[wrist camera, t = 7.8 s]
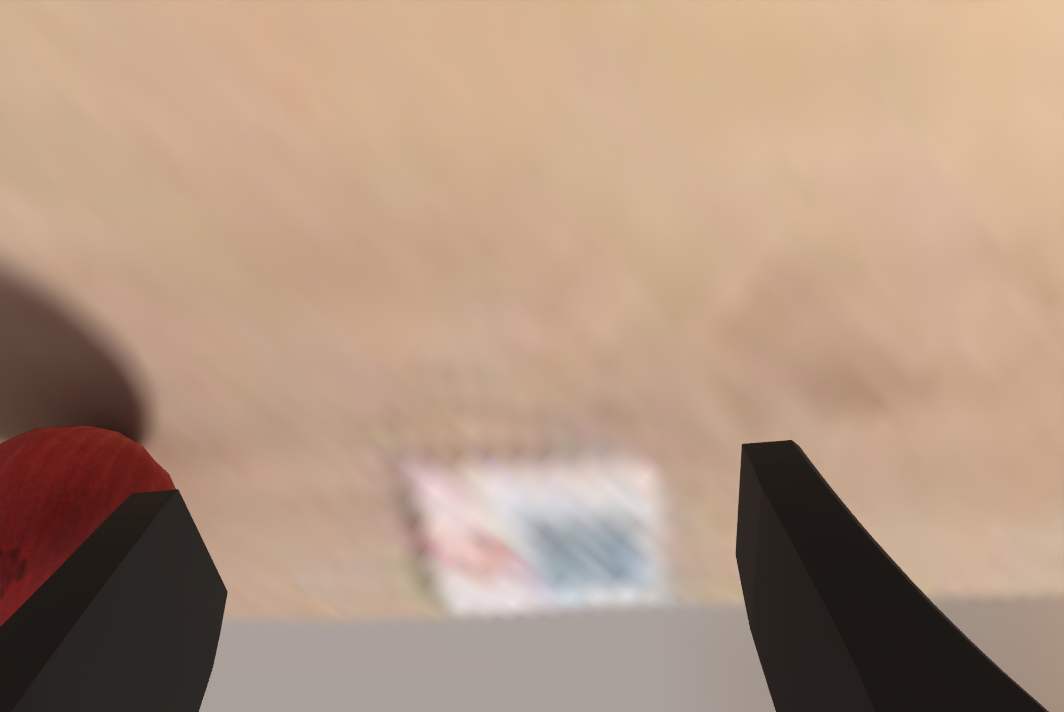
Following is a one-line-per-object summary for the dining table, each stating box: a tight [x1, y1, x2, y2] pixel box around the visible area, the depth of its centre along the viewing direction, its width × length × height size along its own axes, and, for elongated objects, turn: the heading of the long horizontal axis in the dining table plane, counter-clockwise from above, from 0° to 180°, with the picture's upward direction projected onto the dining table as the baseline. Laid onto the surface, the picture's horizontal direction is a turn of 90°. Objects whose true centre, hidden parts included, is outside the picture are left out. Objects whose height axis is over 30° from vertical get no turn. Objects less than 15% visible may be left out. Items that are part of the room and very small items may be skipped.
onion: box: [0, 425, 176, 627], centre depth 21 cm, size 6×6×8 cm
